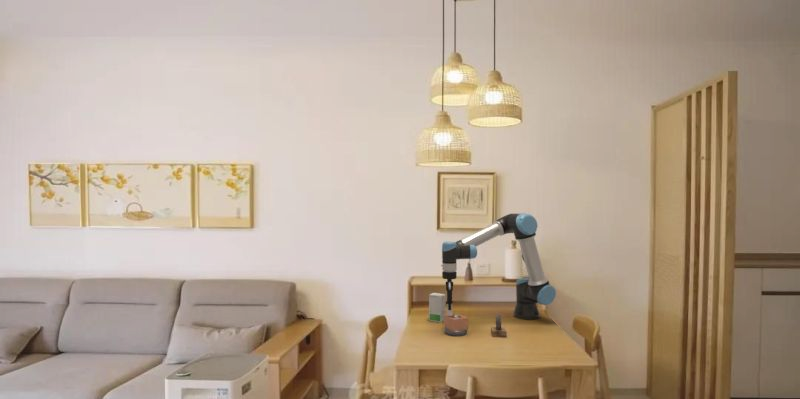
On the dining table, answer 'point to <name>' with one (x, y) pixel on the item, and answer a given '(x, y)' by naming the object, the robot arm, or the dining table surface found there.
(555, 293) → the robot arm
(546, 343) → the dining table surface
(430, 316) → the skincare box
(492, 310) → the dining table surface
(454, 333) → the hub
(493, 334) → the stand
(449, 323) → the pink square tube frame
